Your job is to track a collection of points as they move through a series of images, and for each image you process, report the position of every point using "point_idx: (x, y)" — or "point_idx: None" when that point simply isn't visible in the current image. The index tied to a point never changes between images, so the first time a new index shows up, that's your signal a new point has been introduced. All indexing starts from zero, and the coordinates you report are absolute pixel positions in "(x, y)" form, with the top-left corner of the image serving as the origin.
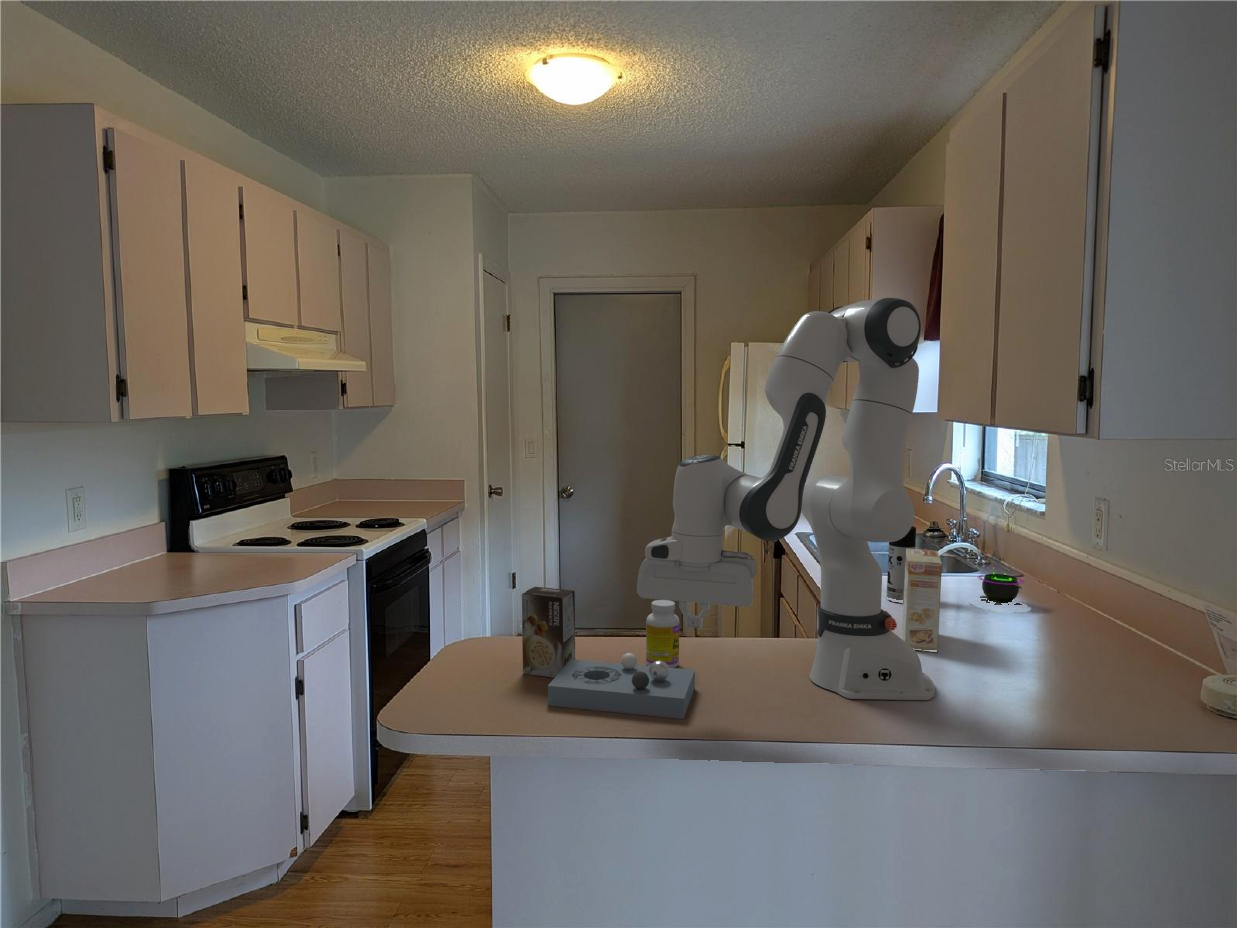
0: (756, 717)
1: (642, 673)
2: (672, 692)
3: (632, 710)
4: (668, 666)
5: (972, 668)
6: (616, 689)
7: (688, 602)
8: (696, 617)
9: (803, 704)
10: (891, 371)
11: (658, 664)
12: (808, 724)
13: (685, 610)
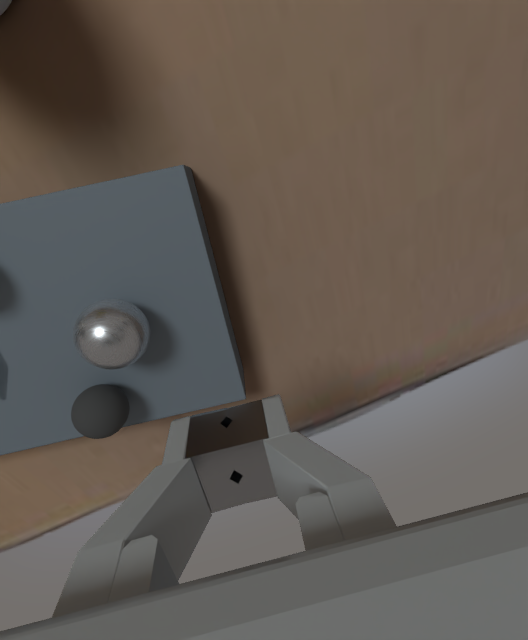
0: (394, 288)
1: (103, 431)
2: (201, 378)
3: None
4: (4, 3)
5: None
6: (56, 426)
7: (157, 568)
8: (261, 483)
9: (510, 147)
10: None
11: (111, 364)
12: (509, 272)
13: (178, 565)
